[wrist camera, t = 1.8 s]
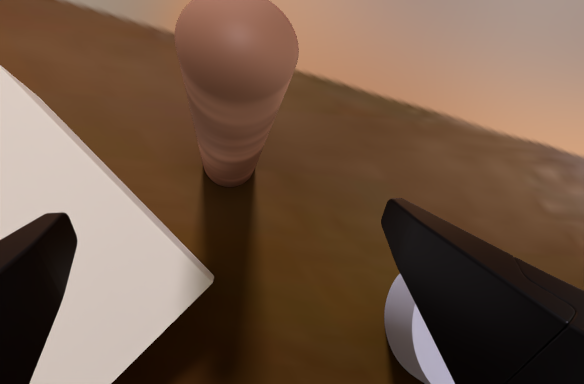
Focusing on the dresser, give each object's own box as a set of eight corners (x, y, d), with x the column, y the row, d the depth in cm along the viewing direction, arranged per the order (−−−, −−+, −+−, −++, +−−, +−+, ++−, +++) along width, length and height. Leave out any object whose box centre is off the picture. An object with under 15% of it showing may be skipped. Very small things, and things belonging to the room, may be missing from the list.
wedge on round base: (538, 301, 25) (404, 238, 23) (647, 320, 19) (474, 235, 17) (517, 419, 23) (368, 358, 21) (634, 486, 16) (431, 407, 15)
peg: (265, 164, 22) (321, 53, 10) (228, 197, 21) (236, 122, 8) (230, 128, 22) (241, -32, 9) (191, 160, 21) (146, 28, 8)
